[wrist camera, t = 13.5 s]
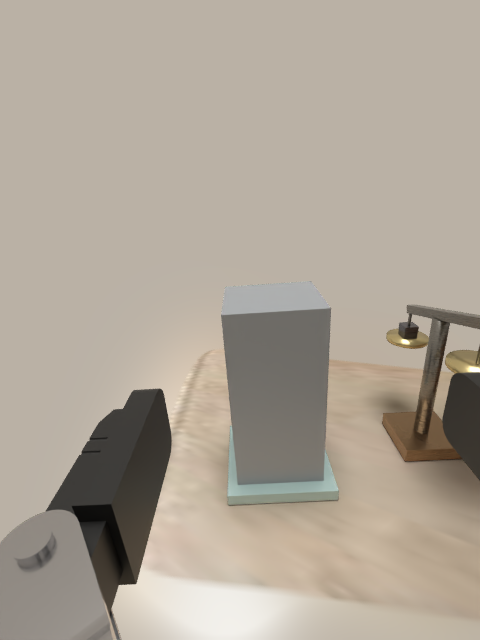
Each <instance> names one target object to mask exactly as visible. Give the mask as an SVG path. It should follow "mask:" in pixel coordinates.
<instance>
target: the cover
mask: <svg viewBox="0 0 480 640" xmlns="http://www.w3.org/2000/svg"><path fill="white" fill-rule="evenodd" d="M221 317H222V327H223V338H224V349H225V359H226V369H227V380H228V390H229V400H230V410H231V421H232V431H233V441H234V452H235V462H236V472H237V483H238V485H249V484H269V483H289V482H309V481H324V460H325V437H326V413H327V390H328V366H329V342H330V317H331V308H330V307H329V305H328V304H327V302H326V301H325V299H324V298H323V297H322V295H321V294H320V293H319V291H318V290H317V289H316V287H315V286H314V285H313V283H312V282H311V281H309V282H294V283H279V284H262V285H247V286H233V287H225V293H224V300H223V306H222V314H221Z"/></svg>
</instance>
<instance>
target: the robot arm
mask: <svg viewBox="0 0 480 640" xmlns="http://www.w3.org/2000/svg"><path fill="white" fill-rule="evenodd" d="M442 423H443V430H444V433H445V436H446V438H447V440H448V441H449V443H450V444H451V445H452V447H453V448H454V449H455V450H456V452H457V453H458V454H459V455H460V457H461V458H462V459H463V460H464V461H465V463H466V464H467V465H468V466H469V468H470V469H471V470H472V471H473V473H474V474H475V475H476V476H477V477H478V479H479V480H480V372H465V373H456V374H454V375H453V377H452V378H451V381H450V386H449V391H448V396H447V400H446V405H445V410H444V414H443V420H442ZM171 442H172V441H171V430H170V424H169V419H168V414H167V409H166V403H165V398H164V394H163V391H162V390H161V389H145V390H134V391H133V392H132V393H131V395H130V397H129V398H128V400H127V402H126V404H125V406H124V408H123V409H116V410H113V411H112V412H111V413H110V414H109V415H107V416H106V417H105V418H104V419H103V420H102V421H100V422H99V424H98V425H97V427H96V429H95V430H94V432H93V433H92V435H91V437H90V441H88V442H87V443H86V445H85V447H84V448H83V450H82V454H81V455H79V457H78V458H77V460H76V462H75V463H74V465H73V467H72V468H71V470H70V472H69V473H68V475H67V477H66V478H65V480H64V482H63V483H62V485H61V487H60V489H59V490H58V492H57V494H56V495H55V497H54V498H53V500H52V502H51V504H50V505H49V507H48V508H47V510H46V512H43V513H40V514H38V515H35V516H33V517H31V518H30V519H28V520H26V521H24V522H23V523H22V524H20V525H19V526H17V527H16V528H15V529H14V530H12V531H11V532H10V533H9V534H8V535H7V536H6V537H5V538H4V539H3V540H2V541H1V543H0V640H122V639H121V637H120V633H119V630H118V627H117V624H116V621H115V618H114V614H113V611H112V609H111V608H112V605H113V602H114V598H115V595H116V592H117V589H118V585H127V584H136V583H137V579H138V575H139V572H140V568H141V564H142V560H143V556H144V553H145V549H146V545H147V541H148V537H149V534H150V530H151V526H152V522H153V518H154V515H155V511H156V507H157V503H158V499H159V496H160V492H161V488H162V484H163V480H164V477H165V473H166V469H167V465H168V461H169V458H170V453H171Z"/></svg>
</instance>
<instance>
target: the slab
mask: <svg viewBox="0 0 480 640" xmlns="http://www.w3.org/2000/svg"><path fill="white" fill-rule="evenodd" d="M338 494H339V490H338V487H337V484H336V481H335V478H334V475H333V472H332V469H331V465H330V462H329V459H328V456H327V453H326V450H325V460H324V481H309V482H289V483H269V484H249V485H238V483H237V472H236V462H235V452H234V441H233V431H232V426H230V445H229V470H228V495H227V497H228V505H241V504H262V503H283V502H304V501H325V500H338Z"/></svg>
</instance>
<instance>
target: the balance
mask: <svg viewBox="0 0 480 640" xmlns="http://www.w3.org/2000/svg"><path fill="white" fill-rule="evenodd" d="M407 313H409V318H408V322H403V323H400V324H399V329H393V330H390V331H388V332H387V337H386V339H387V340H388V342H390V343H391V344H393V345H396V346H399V347H403V348H411V349H415V348H423V347H425V346H427V345H428V347H427V353H426V359H425V365H424V370H423V376H422V382H421V388H420V393H419V399H418V405H417V411H416V412H401V413H383V421H382V424H383V425H384V427H385V429H386V430H387V432H388V434H389V435H390V437H391V439H392V440H393V442H394V444H395V445H396V447H397V449H398V450H399V452H400V454H401V455H402V457H403V459H404V460H405V461H424V460H443V459H462V458H461V457H460V455H459V454H458V453H457V452H456V450H455V449H454V448H453V447H452V445H451V444H450V443H449V441H448V440H447V438H446V436H445V433H444V430H443V423H442V420H441V419H440V418H439V417H438V416H437V414H436V413H435V412H434V411H433V407H434V402H435V397H436V392H437V387H438V381H439V376H440V371H441V366H442V361H443V356H444V351H445V346H446V341H447V335H448V330H449V326H450V323H455V324H459V325H463V326H468V327H472V328H477V329H480V315H475V314H469V313H463V312H456V311H450V310H444V309H438V308H432V307H426V306H420V305H407ZM412 314H414V315H419V316H423V317H428V318H432V324H431V330H430V336H429V337H428V336H427V335H425V334H424V333H422V332H419V331H418V328H419V327H418V326H417V325H416V324H414V323H413V322H411V317H412ZM445 364H446V366H447V368H449V369H450V370H451V371H452V372H454V373H455V374H456V373H465V372H480V346H479V350H478V351H471V350H458V351H453V352H450V353H449V354H447V356H446V360H445Z"/></svg>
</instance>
